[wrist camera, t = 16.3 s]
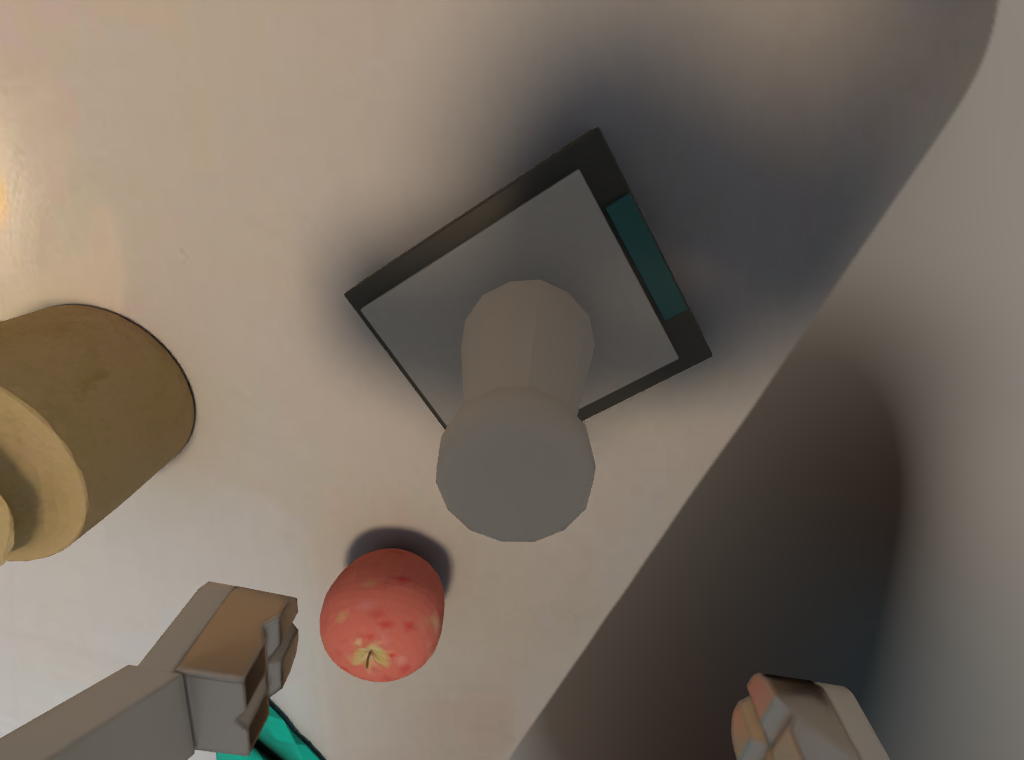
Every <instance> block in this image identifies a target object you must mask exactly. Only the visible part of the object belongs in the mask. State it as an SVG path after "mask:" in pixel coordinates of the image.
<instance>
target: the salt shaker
mask: <svg viewBox="0 0 1024 760" xmlns="http://www.w3.org/2000/svg"><path fill="white" fill-rule="evenodd" d="M594 347H595V342H594V337H593V332H592V328H591V323H590V318H589V315H588V314H587V313H586V312H585V311H584V310H583V309H582V307H581V306H580V305H579V304H578V303H577V302H576V301H575V300H574V299H573V297H572V296H571V295H570V294H569V293H568V292H566V291H564V290H562V289H560V288H558V287H555V286H553V285H551V284H549V283H547V282H544V281H542V280H524V281H510V282H508V283H506V284H504V285H502V286H500V287H498V288H496V289H494V290H492V291H490V292H488V293H486V294H484V295H483V296H482V297H481V298H480V300H479V301H478V302H477V304H476V305H475V307H474V308H473V310H472V311H471V313H470V314H469V315H468V317H467V318H466V320H465V324H464V331H463V338H462V344H461V360H462V381H463V401H464V404H463V406H462V407H461V408H460V410H459V411H458V412H457V414H456V415H455V416H454V418H453V419H452V420H451V422H450V423H449V424H448V426H447V427H446V429H445V431H444V433H443V435H442V437H441V442H440V449H439V456H438V463H437V473H436V483H437V485H438V487H439V490H440V492H441V495H442V497H443V499H444V502H445V504H446V506H447V509H448V510H449V511H450V512H451V513H452V514H453V515H455V516H456V517H457V518H458V519H459V520H460V521H461V522H462V523H463V524H464V525H465V526H466V527H467V528H469V529H470V530H471V531H474V532H477V533H479V534H482V535H485V536H488V537H491V538H493V539H496V540H499V541H515V542H535V541H537V540H540V539H542V538H545V537H547V536H550V535H552V534H555V533H557V532H560V531H563V530H565V529H566V528H567V527H568V526H569V525H570V524H571V523H572V522H573V521H574V520H575V519H576V518H577V517H578V516H579V515H580V514H581V513H582V512H583V511H584V510H585V509H586V506H587V502H588V498H589V495H590V491H591V487H592V484H593V480H594V473H595V467H596V466H595V462H594V457H593V453H592V449H591V445H590V441H589V437H588V433H587V430H586V426H585V424H584V423H583V422H582V421H581V420H580V419H579V418H578V417H577V414H578V411H579V407H580V403H581V399H582V395H583V391H584V387H585V384H586V380H587V376H588V372H589V368H590V364H591V359H592V355H593V351H594Z"/></svg>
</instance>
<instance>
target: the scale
mask: <svg viewBox="0 0 1024 760" xmlns="http://www.w3.org/2000/svg"><path fill="white" fill-rule="evenodd" d="M524 280H542V281H544V282H547V283H549V284H551V285H553V286H555V287H558V288H560V289H562V290H564V291H566V292H568V293H569V294H570V295H571V296H572V297H573V299H574V300H575V301H576V302H577V303H578V304H579V305H580V306H581V307H582V309H583V310H584V311H585V312H586V313H587V314H588V315H589V318H590V323H591V328H592V332H593V337H594V342H595V347H594V351H593V355H592V359H591V364H590V368H589V372H588V376H587V380H586V384H585V387H584V391H583V395H582V399H581V403H580V407H579V411H578V414H577V417H578V418H579V419H580V420H581V421H583V420H585V419H587V418H589V417H591V416H593V415H595V414H597V413H599V412H601V411H603V410H605V409H607V408H609V407H611V406H613V405H615V404H617V403H619V402H621V401H623V400H625V399H627V398H629V397H631V396H633V395H635V394H637V393H639V392H641V391H643V390H645V389H647V388H649V387H651V386H653V385H655V384H657V383H659V382H661V381H663V380H665V379H667V378H669V377H671V376H673V375H675V374H677V373H679V372H681V371H683V370H686V369H688V368H690V367H692V366H694V365H696V364H698V363H700V362H702V361H704V360H706V359H708V358H710V357H712V352H711V350H710V348H709V346H708V344H707V342H706V340H705V338H704V336H703V334H702V332H701V331H700V329H699V327H698V325H697V323H696V321H695V319H694V317H693V315H692V313H691V311H690V309H689V307H688V305H687V303H686V301H685V299H684V297H683V295H682V293H681V291H680V289H679V287H678V285H677V283H676V281H675V279H674V277H673V275H672V273H671V271H670V269H669V267H668V265H667V263H666V261H665V259H664V257H663V255H662V253H661V251H660V249H659V247H658V245H657V243H656V241H655V239H654V237H653V235H652V233H651V231H650V229H649V227H648V225H647V223H646V221H645V219H644V217H643V215H642V213H641V211H640V209H639V207H638V205H637V203H636V201H635V199H634V197H633V195H632V193H631V191H630V189H629V187H628V185H627V183H626V181H625V179H624V177H623V175H622V173H621V171H620V169H619V167H618V165H617V163H616V161H615V159H614V157H613V155H612V153H611V151H610V149H609V147H608V145H607V143H606V141H605V139H604V137H603V135H602V133H601V131H600V129H599V128H598V127H597V128H594V129H591V130H590V131H588V132H587V133H585V134H584V135H582V136H581V137H579V138H578V139H576V140H575V141H573V142H572V143H570V144H569V145H567V146H566V147H564V148H563V149H561V150H560V151H558V152H557V153H555V154H554V155H552V156H550V157H549V158H547V159H546V160H544V161H543V162H541V163H540V164H538V165H537V166H535V167H534V168H532V169H531V170H529V171H528V172H526V173H525V174H523V175H522V176H520V177H519V178H517V179H516V180H514V181H513V182H511V183H510V184H508V185H507V186H505V187H504V188H502V189H501V190H499V191H497V192H496V193H494V194H493V195H491V196H490V197H488V198H487V199H485V200H484V201H482V202H481V203H479V204H478V205H476V206H475V207H473V208H472V209H470V210H469V211H467V212H466V213H464V214H463V215H461V216H460V217H458V218H457V219H455V220H454V221H452V222H451V223H449V224H447V225H446V226H444V227H443V228H441V229H440V230H438V231H437V232H435V233H434V234H432V235H431V236H429V237H428V238H426V239H425V240H423V241H422V242H420V243H419V244H417V245H416V246H414V247H413V248H411V249H410V250H408V251H407V252H405V253H404V254H402V255H401V256H399V257H398V258H396V259H394V260H393V261H391V262H390V263H388V264H387V265H385V266H384V267H382V268H381V269H379V270H378V271H376V272H375V273H373V274H372V275H370V276H369V277H367V278H366V279H364V280H363V281H361V282H360V283H358V284H357V285H356V286H354V287H353V288H352V289H350V290H349V291H347V292H346V293H345V294H344V295H345V297H346V298H347V299H348V301H349V302H350V303H351V305H352V306H353V307H354V309H355V310H356V311H357V313H358V314H359V315H360V317H361V318H362V319H363V321H364V322H365V323H366V325H367V326H368V327H369V329H370V330H371V331H372V333H373V334H374V335H375V337H376V338H377V339H378V341H379V342H380V343H381V345H382V346H383V347H384V349H385V350H386V351H387V353H388V354H389V355H390V357H391V358H392V359H393V361H394V362H395V363H396V365H397V366H398V367H399V369H400V370H401V371H402V373H403V374H404V375H405V377H406V378H407V379H408V381H409V382H410V383H411V385H412V386H413V387H414V389H415V390H416V391H417V393H418V394H419V395H420V397H421V398H422V399H423V401H424V402H425V403H426V405H427V406H428V407H429V409H430V410H431V411H432V413H433V414H434V415H435V417H436V418H437V419H438V421H439V422H440V423H441V425H442V426H443V427H444V429H446V427H447V426H448V424H449V423H450V422H451V420H452V419H453V418H454V416H455V415H456V414H457V412H458V411H459V410H460V408H461V407H462V406H463V404H464V401H463V381H462V360H461V344H462V338H463V331H464V324H465V320H466V318H467V317H468V315H469V314H470V313H471V311H472V310H473V308H474V307H475V305H476V304H477V302H478V301H479V300H480V298H481V297H482V296H483V295H484V294H486V293H488V292H490V291H492V290H494V289H496V288H498V287H500V286H502V285H504V284H506V283H508V282H510V281H524Z"/></svg>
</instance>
